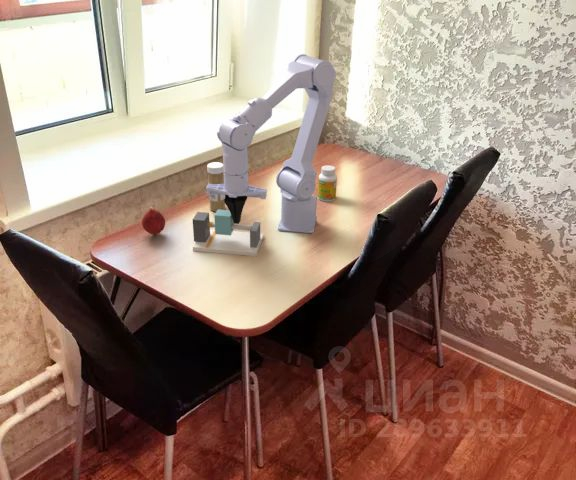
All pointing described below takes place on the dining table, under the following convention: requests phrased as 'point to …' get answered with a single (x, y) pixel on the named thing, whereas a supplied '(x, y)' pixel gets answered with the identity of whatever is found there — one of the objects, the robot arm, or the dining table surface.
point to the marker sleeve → (223, 222)
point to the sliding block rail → (225, 237)
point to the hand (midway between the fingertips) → (237, 222)
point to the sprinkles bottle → (216, 177)
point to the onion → (153, 221)
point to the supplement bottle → (327, 184)
